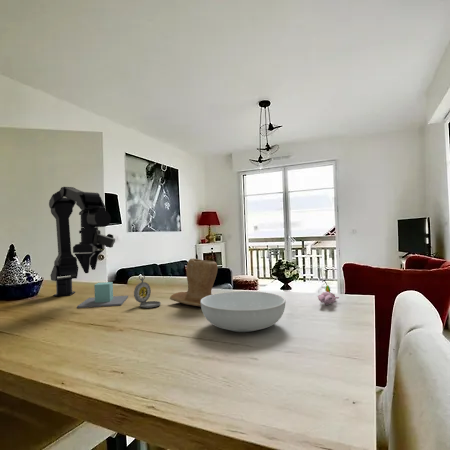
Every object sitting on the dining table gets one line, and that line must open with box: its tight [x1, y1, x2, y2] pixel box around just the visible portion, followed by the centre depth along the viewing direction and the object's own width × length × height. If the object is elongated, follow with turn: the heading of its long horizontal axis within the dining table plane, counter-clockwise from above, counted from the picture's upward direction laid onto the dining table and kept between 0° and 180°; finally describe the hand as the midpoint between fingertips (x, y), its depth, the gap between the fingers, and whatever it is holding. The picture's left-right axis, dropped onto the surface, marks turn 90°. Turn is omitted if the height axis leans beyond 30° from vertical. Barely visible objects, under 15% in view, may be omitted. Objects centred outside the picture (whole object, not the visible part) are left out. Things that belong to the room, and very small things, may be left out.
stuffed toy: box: [317, 285, 340, 306], centre depth 101 cm, size 6×6×15 cm
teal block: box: [93, 281, 114, 302], centre depth 114 cm, size 5×5×6 cm
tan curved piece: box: [169, 258, 219, 307], centre depth 106 cm, size 15×12×15 cm
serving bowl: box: [200, 290, 287, 333], centre depth 80 cm, size 21×21×7 cm
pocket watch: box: [133, 274, 161, 309], centre depth 106 cm, size 8×8×10 cm
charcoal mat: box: [76, 295, 129, 309], centre depth 114 cm, size 14×14×1 cm
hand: (90, 271), depth 115 cm, fingers open, 9 cm apart
